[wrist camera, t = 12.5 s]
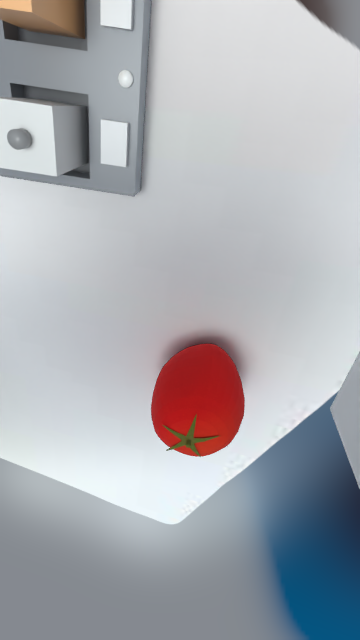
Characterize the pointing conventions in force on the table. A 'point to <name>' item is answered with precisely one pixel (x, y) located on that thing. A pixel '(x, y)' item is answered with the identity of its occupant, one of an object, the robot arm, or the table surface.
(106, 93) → the socket block
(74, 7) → the orange plug
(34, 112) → the white rectangular block
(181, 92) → the table surface
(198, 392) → the tomato
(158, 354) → the table surface
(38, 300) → the table surface
